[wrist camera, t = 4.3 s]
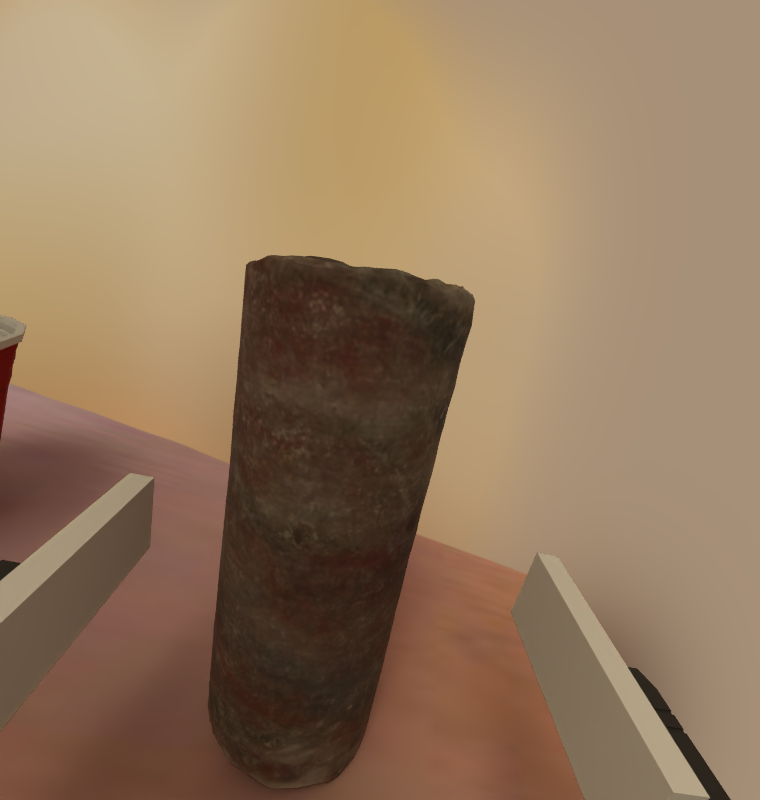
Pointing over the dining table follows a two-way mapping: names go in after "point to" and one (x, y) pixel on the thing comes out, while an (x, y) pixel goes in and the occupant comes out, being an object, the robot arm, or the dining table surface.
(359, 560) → the brown rough cylinder
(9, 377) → the plastic cup
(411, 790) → the dining table surface
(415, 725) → the dining table surface
